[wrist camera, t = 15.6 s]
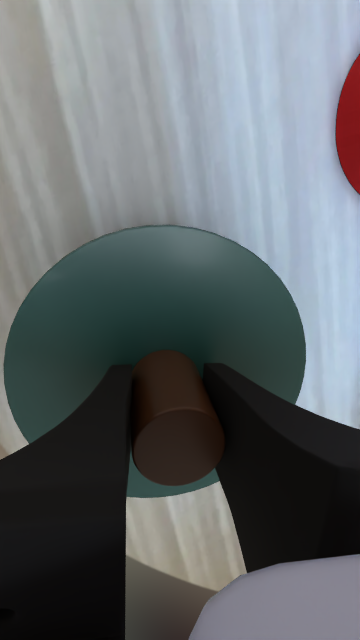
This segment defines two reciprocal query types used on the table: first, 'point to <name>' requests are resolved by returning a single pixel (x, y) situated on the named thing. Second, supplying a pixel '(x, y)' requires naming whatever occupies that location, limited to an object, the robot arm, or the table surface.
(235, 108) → the table surface
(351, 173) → the decorative ornament
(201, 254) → the lid
